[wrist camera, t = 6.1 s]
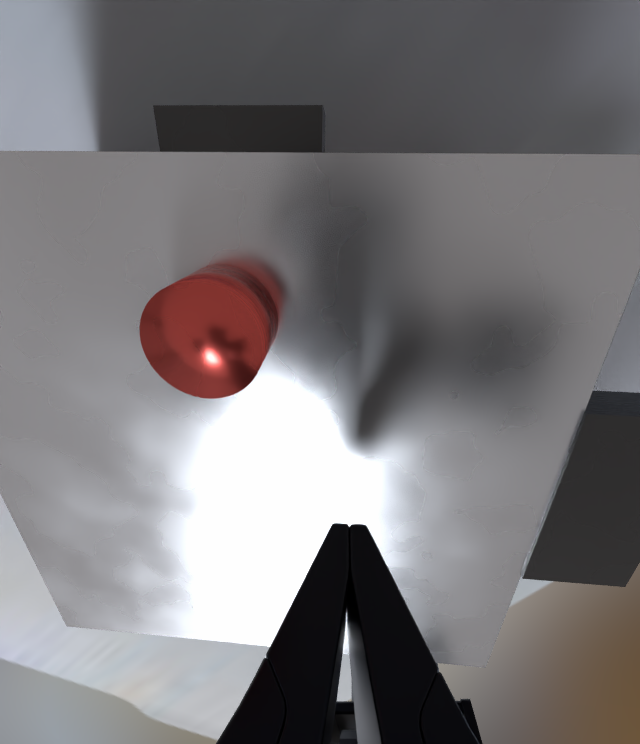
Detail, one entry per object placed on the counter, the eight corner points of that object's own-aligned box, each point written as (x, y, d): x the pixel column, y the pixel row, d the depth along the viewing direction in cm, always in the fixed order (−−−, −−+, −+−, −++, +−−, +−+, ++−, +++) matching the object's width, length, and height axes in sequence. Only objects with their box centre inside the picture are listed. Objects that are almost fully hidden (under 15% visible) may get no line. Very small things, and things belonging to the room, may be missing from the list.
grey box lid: (554, 643, 15) (594, 733, 12) (84, 599, 16) (36, 672, 14) (803, 160, 7) (1026, 146, 5) (-112, 154, 9) (-293, 141, 6)
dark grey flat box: (423, 499, 23) (456, 641, 16) (169, 484, 24) (92, 612, 17) (487, 140, 14) (623, 95, 7) (91, 138, 15) (-132, 97, 8)
